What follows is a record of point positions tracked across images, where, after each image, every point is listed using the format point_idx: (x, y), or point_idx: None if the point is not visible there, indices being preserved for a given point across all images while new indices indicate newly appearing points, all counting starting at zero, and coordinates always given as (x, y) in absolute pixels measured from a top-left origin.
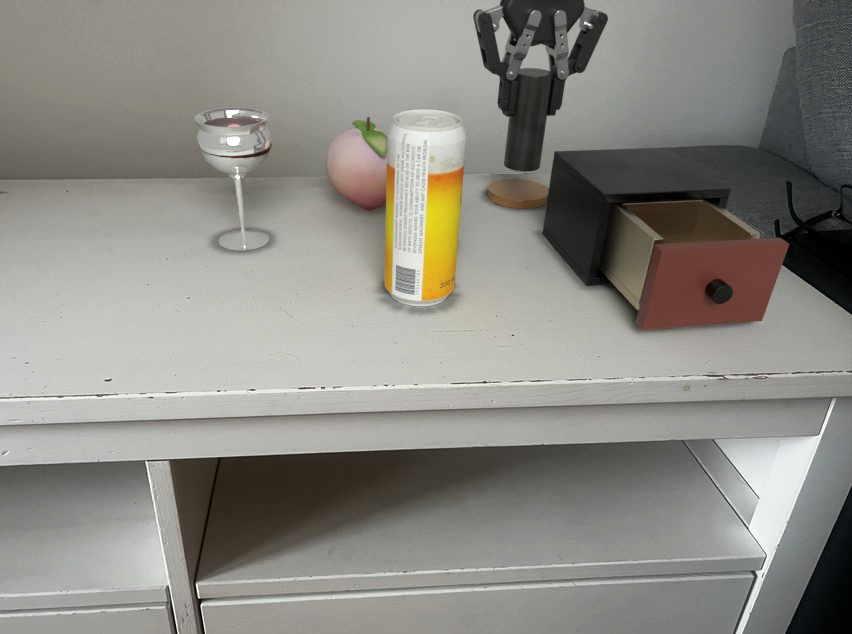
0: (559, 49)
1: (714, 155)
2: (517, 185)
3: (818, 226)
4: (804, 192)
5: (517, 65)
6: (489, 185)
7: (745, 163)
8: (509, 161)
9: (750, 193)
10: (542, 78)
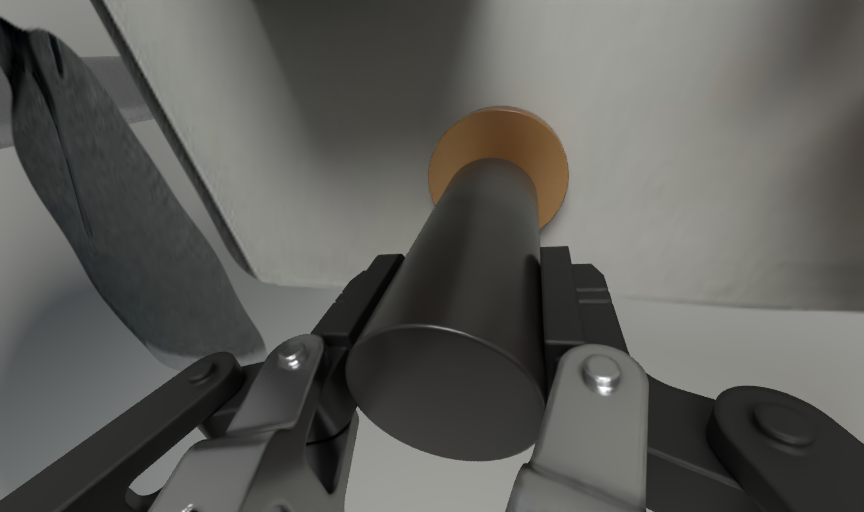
0: (228, 481)
1: (187, 329)
2: None
3: (2, 47)
4: (62, 197)
5: (570, 425)
6: (559, 204)
7: (149, 300)
8: (532, 186)
9: (121, 194)
10: (405, 316)
